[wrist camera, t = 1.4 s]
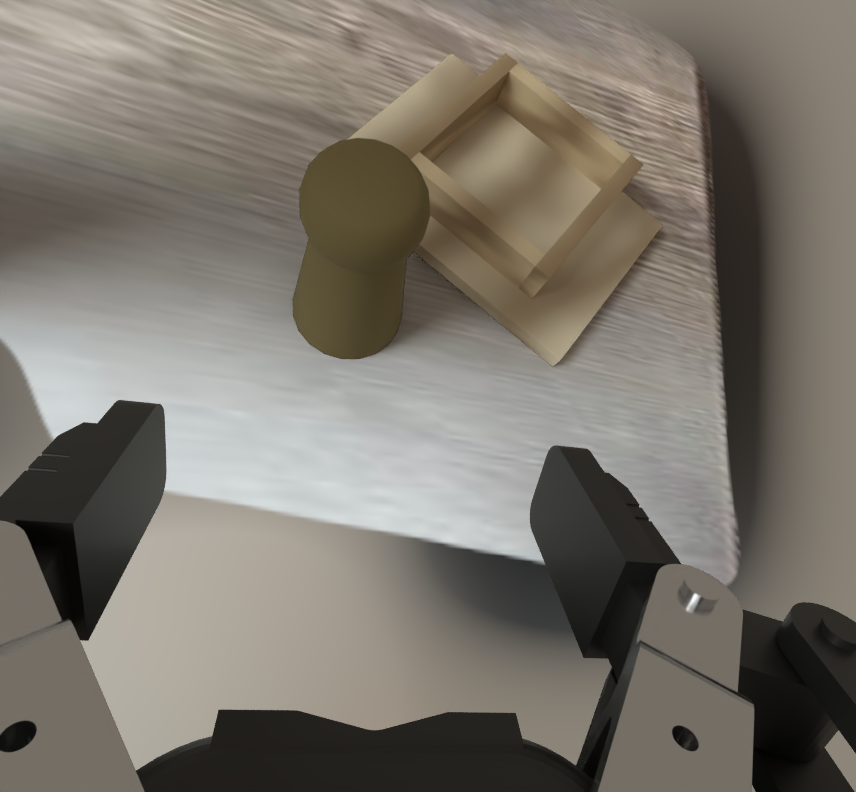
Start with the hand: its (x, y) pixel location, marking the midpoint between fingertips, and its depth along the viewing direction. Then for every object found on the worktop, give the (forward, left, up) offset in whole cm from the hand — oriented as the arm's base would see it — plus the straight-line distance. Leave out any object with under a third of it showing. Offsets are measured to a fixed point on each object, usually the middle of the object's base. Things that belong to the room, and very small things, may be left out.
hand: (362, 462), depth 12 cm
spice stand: (-5, +22, -17) cm, 28 cm away
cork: (-7, +10, -17) cm, 20 cm away
